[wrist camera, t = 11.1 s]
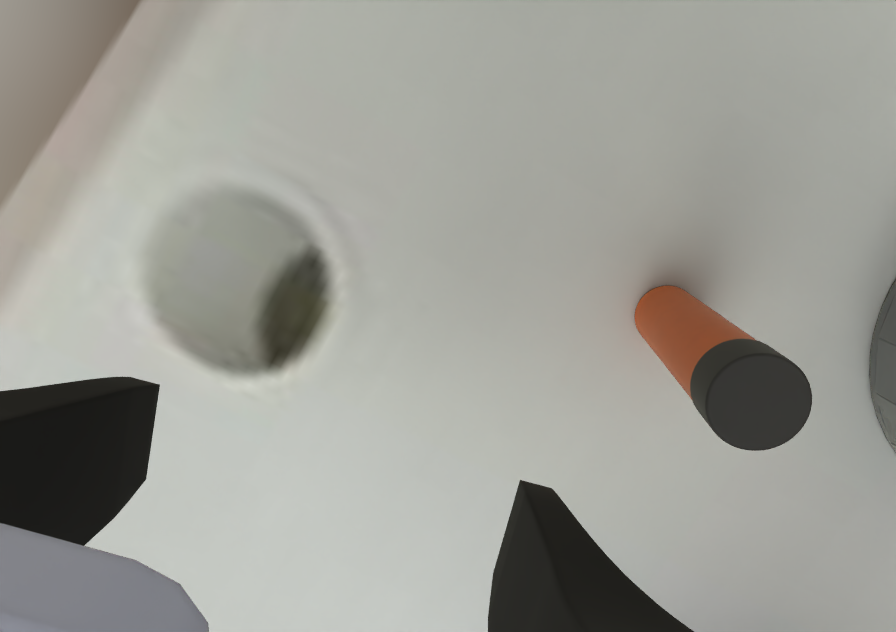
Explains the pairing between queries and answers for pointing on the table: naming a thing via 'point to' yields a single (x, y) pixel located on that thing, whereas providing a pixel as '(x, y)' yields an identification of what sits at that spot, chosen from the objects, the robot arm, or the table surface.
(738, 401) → the marker
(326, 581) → the table surface
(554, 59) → the table surface
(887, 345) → the pot
